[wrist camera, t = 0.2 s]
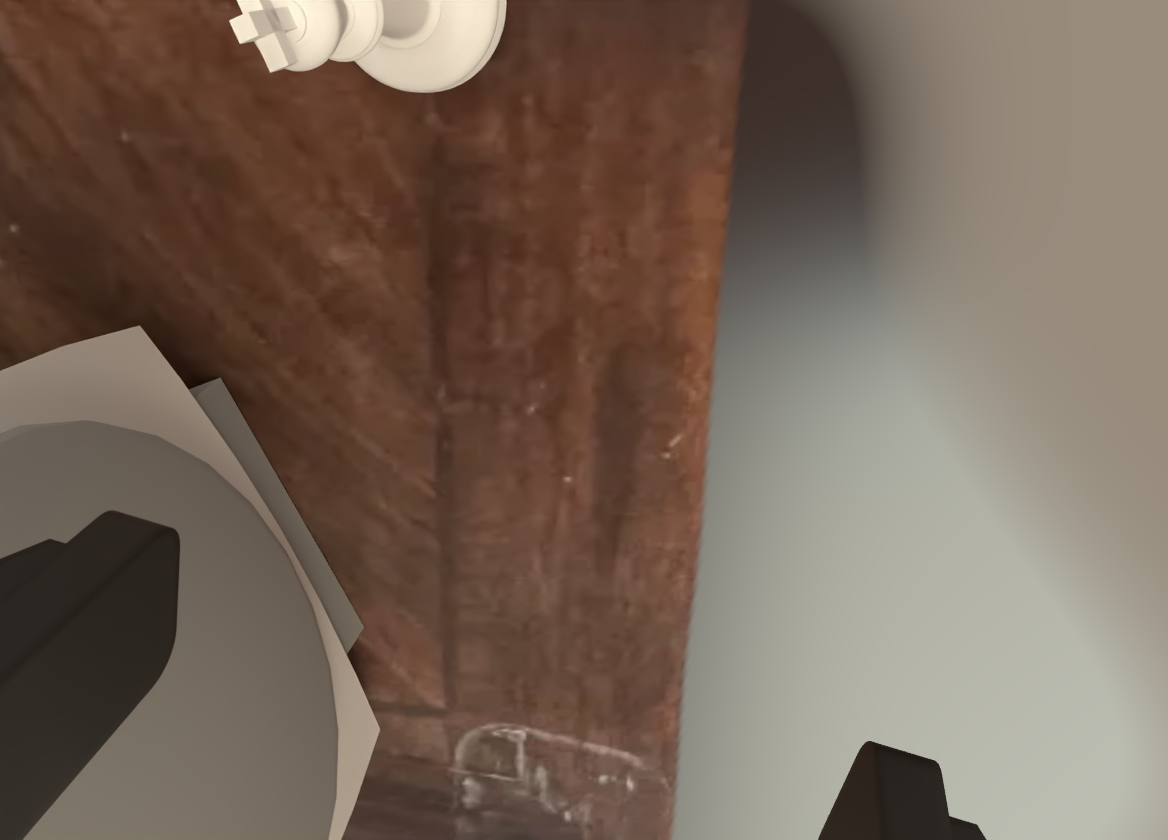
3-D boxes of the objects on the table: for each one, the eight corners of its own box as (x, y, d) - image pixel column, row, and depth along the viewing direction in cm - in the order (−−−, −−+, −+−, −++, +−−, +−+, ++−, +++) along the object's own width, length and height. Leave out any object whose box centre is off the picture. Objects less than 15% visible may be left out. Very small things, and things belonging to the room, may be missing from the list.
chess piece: (463, -135, 26) (294, -170, 18) (534, 55, 28) (412, 111, 19) (304, -60, 28) (74, -56, 19) (380, 116, 30) (201, 195, 21)
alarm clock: (9, 341, 35) (-800, 762, 17) (203, 258, 33) (-521, 657, 15) (265, 738, 41) (-144, 1358, 23) (447, 696, 39) (143, 1363, 21)
